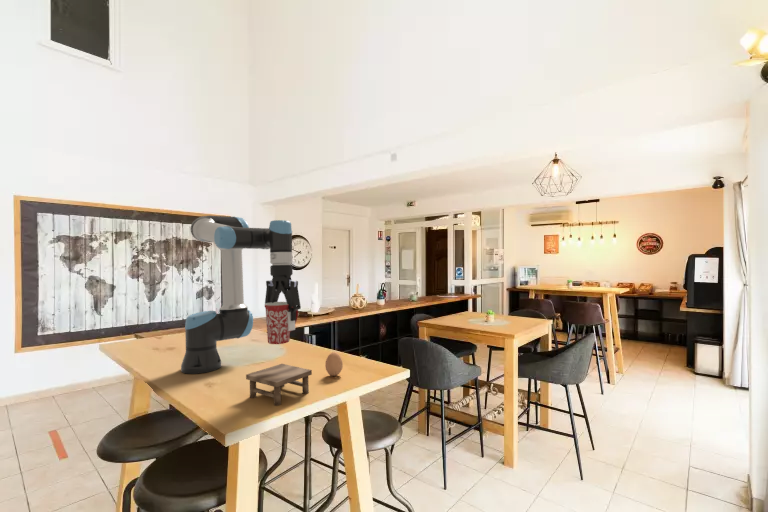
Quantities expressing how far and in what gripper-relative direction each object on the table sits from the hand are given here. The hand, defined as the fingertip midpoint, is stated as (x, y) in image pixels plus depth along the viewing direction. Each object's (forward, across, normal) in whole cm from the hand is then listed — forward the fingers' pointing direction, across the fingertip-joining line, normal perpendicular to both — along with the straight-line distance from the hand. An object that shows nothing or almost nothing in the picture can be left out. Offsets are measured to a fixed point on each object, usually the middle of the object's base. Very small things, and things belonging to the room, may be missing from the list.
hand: (282, 329), depth 133 cm
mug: (+4, 0, 0) cm, 4 cm away
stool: (+21, +3, -5) cm, 22 cm away
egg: (+21, +6, +20) cm, 30 cm away
